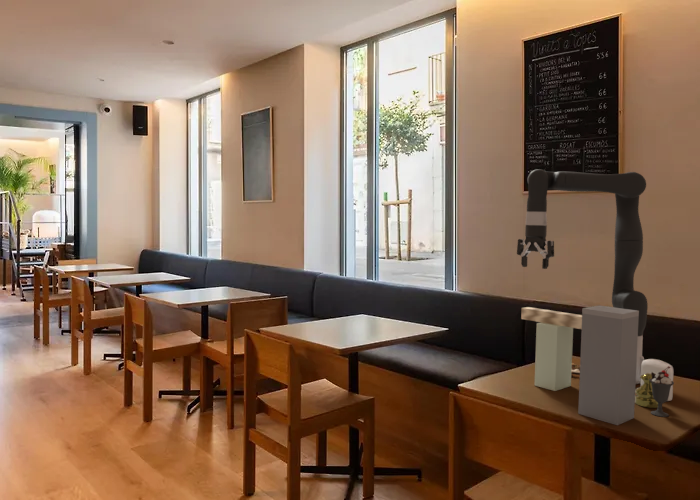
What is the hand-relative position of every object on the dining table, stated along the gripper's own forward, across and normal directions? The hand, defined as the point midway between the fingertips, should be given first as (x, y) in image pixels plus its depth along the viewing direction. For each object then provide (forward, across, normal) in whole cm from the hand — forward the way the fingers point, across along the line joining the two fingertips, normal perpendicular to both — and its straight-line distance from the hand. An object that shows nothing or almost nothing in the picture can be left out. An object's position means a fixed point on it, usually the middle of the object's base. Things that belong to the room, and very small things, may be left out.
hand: (534, 267), depth 217 cm
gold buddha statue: (+40, +43, -1) cm, 59 cm away
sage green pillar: (+40, +13, -7) cm, 43 cm away
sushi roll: (+41, +9, +15) cm, 44 cm away
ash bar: (+18, +13, -7) cm, 23 cm away
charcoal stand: (+40, +40, -22) cm, 61 cm away
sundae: (+40, +50, -7) cm, 64 cm away
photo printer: (+40, +41, +10) cm, 58 cm away
